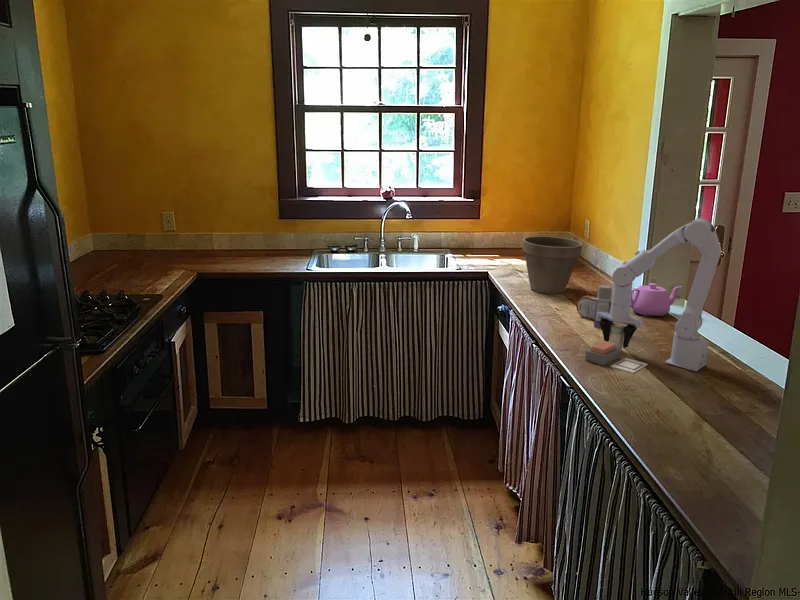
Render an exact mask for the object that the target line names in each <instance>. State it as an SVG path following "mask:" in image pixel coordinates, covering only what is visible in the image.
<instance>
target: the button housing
mask: <svg viewBox="0 0 800 600" xmlns="http://www.w3.org/2000/svg"><path fill="white" fill-rule="evenodd" d="M620 349H621V348H617V347H616V349H615V350H613V351H611V352H609V353H607V354H605V355H602V354H598V353H595V352H591V348H589V349H587V350H586V351H585V357H584V358H585V359H584V360H585V361H586V360H588V361H587V362H590V361H591V362H590V363H593V362H594V363H593V364H597V365H601V366H606V365H608V364H610V363H611V362H613V361H615V360H617V359H619V358H620V356H621V352H620Z"/></svg>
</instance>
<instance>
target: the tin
mask: <svg viewBox="0 0 800 600" xmlns="http://www.w3.org/2000/svg"><path fill="white" fill-rule="evenodd" d="M596 301H597V296H592V295H584V296H581V298H579V299H578V300H577V302H576V311H577V313H578V315H579V316H581V317H582V318H583V319H588V320H592V321H594V319H595V310H596ZM611 301H612V300H610V309H609V313H610V310H611Z"/></svg>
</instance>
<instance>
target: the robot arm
mask: <svg viewBox="0 0 800 600" xmlns="http://www.w3.org/2000/svg"><path fill="white" fill-rule="evenodd" d="M687 242H689V243H690V244H692V245H693V246H695V248H696V249H697V250H698V251H699V253H700V254H701V257H700V260H699V263H698V266H697V269H696V273H695V276H694V279H693V282H692V285H691V288H690V291H689V294H688V297H687V300H686V303H685V306H684V309H683V311H682V312H681V316H680V318H679V319H678V320H677V321H676V322H675V324H674V332H673V333H674V334H673V338H672V339H673V340H672V347H671V352H670V353H671V354H670V358H668V359H666V360H665V362H664V363H665V364H667V365H672V366H675V367H679V368H683V369H686V370H690V371H693V372H698V371H699V370H700V369H702V368H703V367H706V366H707V363H706V361H707V356H708V355H707V354H708V349H709V342H708V341H707V340H705V339H702V338H701V334H700V333H699V330H700V328H701V327H702V325H703V318H702V315H703V314H702V313H703V311H704V307H705V303H706V299H707V297H708V293H709V291H710V288H711V285H712V281H713V279H714V275H715V273H716V270H717V266H718V264H719V260H720V258H721V254H722V247H721V244H720V240H719V237H718V235H717V230H716V227H715V226H714V225H713V224H712V223H711V221H710V220H708V219H707V218H705V217H697V218H695V219H693V220H692V221H691V222H688V223H686V224H684V225H683V226H681V227H678V228H677V229H675V230H674V231H673V232H671V233H670V234H669V235H667V236H666V237H664V238H663V239H662V240H661V241H659V243H657V244H656V245H655V246H653V247H652V248H651V249H647V250H646V249H643V250H637V251H636V252H635V253H634V256H633V257H631V258H630V259H629V260H625V261H623V263H622V265H621V266H619V267H617V268H616V269H615V270H614V271H613V273H612V281H613V287H612V291H611V300H610V301H611V310H610V313H606V312H600V311H599V312H597V315H596V318H598V319H601V321H599V324H600V326H601V329H600V330H601V331H602V332H601V333H602V335H603V336H602V337H603V341H608V342H610V334H611V326H612V325H613V323H618V324H620V325H622V324H623V325H626V326H624V336H623V345H622V348H627V347H629V344H630V342H631V340H632V337H633V336H634V333H635V332H636V331H637V329H642V327H643V321H642V320H639V319H637V318H633V317H630V310H631V309H630V305H631V295H632V296H633V293H632V289H633V282H634V281H635V279H636V278H638V277H640V276H641V275H643V274H644V273H645V272H647V271H648V270H650V269H651V268H652V267H654V266H655V265H656V260H657V258H659V257H660V256H661V255H663V254H664V253H666V252H667V251H668V250H670V249H672V248H673V247H675V246H676V245H678V244H686V243H687Z"/></svg>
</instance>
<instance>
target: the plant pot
mask: <svg viewBox="0 0 800 600" xmlns="http://www.w3.org/2000/svg"><path fill="white" fill-rule="evenodd" d="M582 249H583V243H582V242H581V241H579V240H577V239H571V238H566V237H558V236H545V235H535V236H525V237H524V238H523V239H522V252H524V257H525V262H526V270H527V277H528V281H529V287H530V289H531V290H532V291H533V292H537V293H540V294H541V293H542V294H548V295H549V294H550V295H557V293H559V294H562V292H563V293H564V292H565V291H566V289H567V286H568V284H569V282H570V279H571V276H572V274H573V271H574V269H575V266H576V263H577V261H578V259H579V257H580V256H581V254H582Z"/></svg>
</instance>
